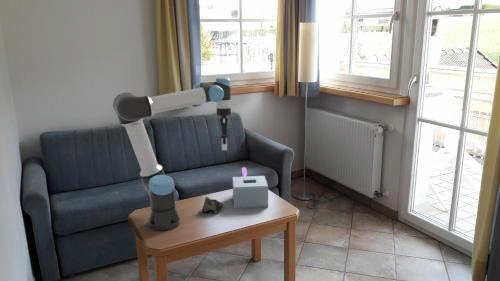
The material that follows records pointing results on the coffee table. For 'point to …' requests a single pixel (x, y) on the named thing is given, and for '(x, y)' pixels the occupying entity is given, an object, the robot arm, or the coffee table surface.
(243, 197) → the coin box
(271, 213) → the coffee table surface
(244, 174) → the toy chair
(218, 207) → the fossil
